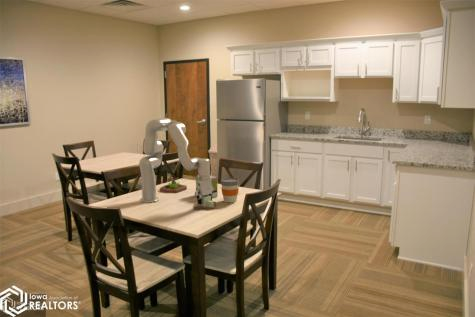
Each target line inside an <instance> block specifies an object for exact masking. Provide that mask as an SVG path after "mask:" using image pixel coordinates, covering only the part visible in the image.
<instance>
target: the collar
mask: <svg viewBox="0 0 475 317" xmlns="http://www.w3.org/2000/svg"><path fill="white" fill-rule="evenodd" d="M199 197H200V196H199ZM201 200H202V204H201V206H204V207H205V206H208V207H214V202H215V201H214V200H212V201H211V196H209V195H204V196H202V197H201ZM199 205H200V204H199Z"/></svg>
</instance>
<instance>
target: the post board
mask: <svg viewBox="0 0 475 317" xmlns="http://www.w3.org/2000/svg"><path fill="white" fill-rule="evenodd" d="M216 204H217V202H216V201H214V207H208V206H205V207H204V206H201V205H199V204H198V201H195V202H194V205H193V210H199V211H201V210H203V211H204V210H216Z"/></svg>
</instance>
